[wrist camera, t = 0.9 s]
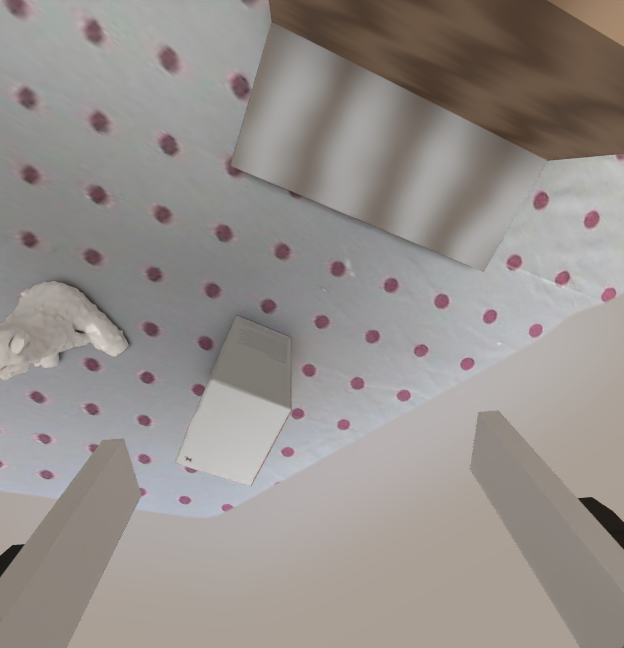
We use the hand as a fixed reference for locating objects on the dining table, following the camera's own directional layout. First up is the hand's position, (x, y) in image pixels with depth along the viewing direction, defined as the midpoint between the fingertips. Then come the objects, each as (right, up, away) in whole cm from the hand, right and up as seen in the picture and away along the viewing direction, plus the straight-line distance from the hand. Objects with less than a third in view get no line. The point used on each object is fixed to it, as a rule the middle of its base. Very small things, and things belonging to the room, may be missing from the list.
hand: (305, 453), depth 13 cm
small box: (-6, +1, +25) cm, 26 cm away
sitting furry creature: (-24, +6, +22) cm, 33 cm away
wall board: (+8, +22, +17) cm, 29 cm away
